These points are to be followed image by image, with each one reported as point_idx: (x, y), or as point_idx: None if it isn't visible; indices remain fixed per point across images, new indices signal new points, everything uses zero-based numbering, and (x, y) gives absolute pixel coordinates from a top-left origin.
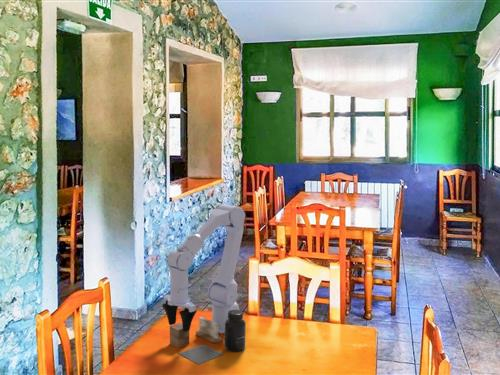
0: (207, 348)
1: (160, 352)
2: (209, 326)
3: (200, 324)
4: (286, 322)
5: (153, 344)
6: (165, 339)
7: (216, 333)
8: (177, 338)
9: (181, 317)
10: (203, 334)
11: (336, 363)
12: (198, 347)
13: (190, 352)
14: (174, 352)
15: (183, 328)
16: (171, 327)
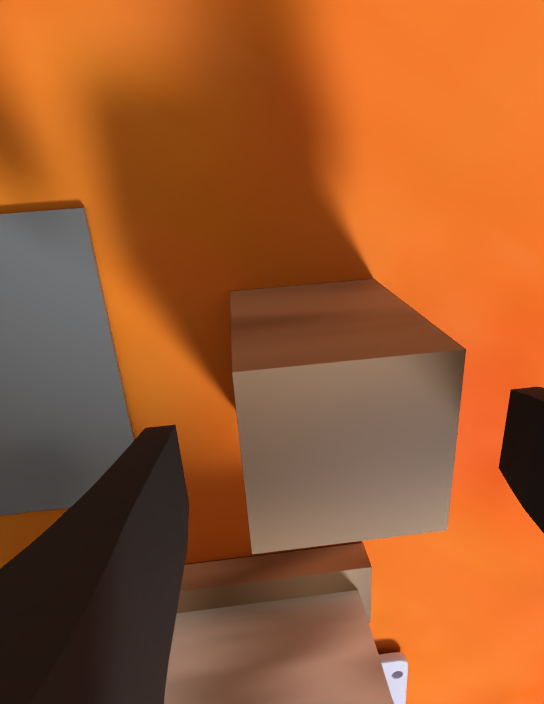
0: (35, 485)
1: (249, 54)
2: (216, 696)
3: (358, 654)
4: None
5: (487, 117)
6: (485, 294)
7: None
8: (244, 320)
9: (66, 616)
10: (267, 582)
11: None
12: (102, 438)
13: (35, 323)
14: (149, 194)
15: (142, 446)
16: (416, 351)
